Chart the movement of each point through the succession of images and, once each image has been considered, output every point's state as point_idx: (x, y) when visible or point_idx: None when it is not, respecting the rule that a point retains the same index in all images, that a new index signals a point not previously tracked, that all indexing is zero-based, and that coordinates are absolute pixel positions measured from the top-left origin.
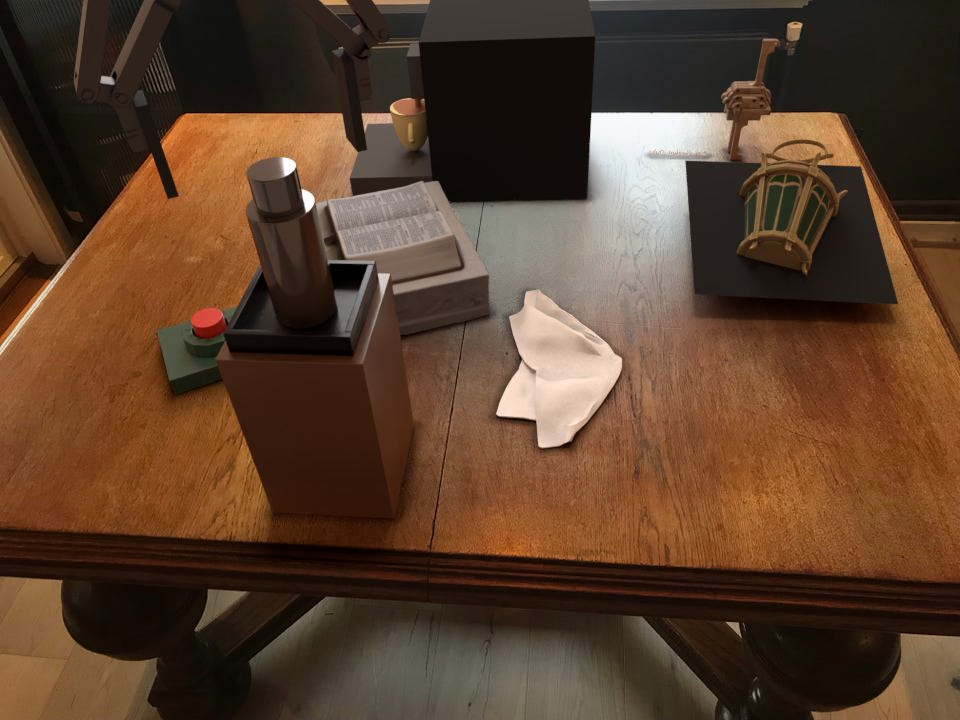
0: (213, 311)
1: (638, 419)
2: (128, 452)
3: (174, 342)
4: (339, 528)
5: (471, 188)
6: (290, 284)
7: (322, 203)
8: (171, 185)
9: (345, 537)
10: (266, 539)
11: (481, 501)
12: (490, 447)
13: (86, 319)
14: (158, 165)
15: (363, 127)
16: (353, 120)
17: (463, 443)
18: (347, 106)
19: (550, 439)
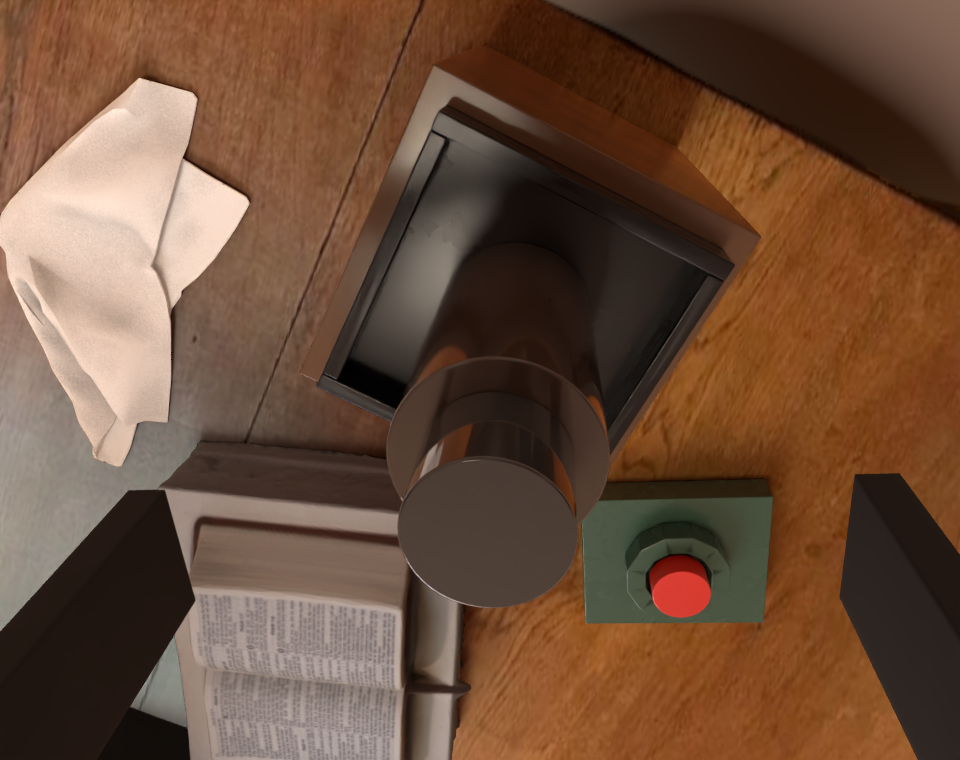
0: (666, 604)
1: (7, 87)
2: (870, 383)
3: (742, 581)
4: (578, 63)
5: (146, 739)
6: (540, 287)
7: None
8: (886, 503)
9: (574, 39)
10: (702, 93)
11: (328, 18)
12: (280, 134)
13: (862, 706)
14: (952, 560)
15: (82, 543)
16: (97, 568)
17: (323, 164)
18: (88, 633)
19: (172, 105)
